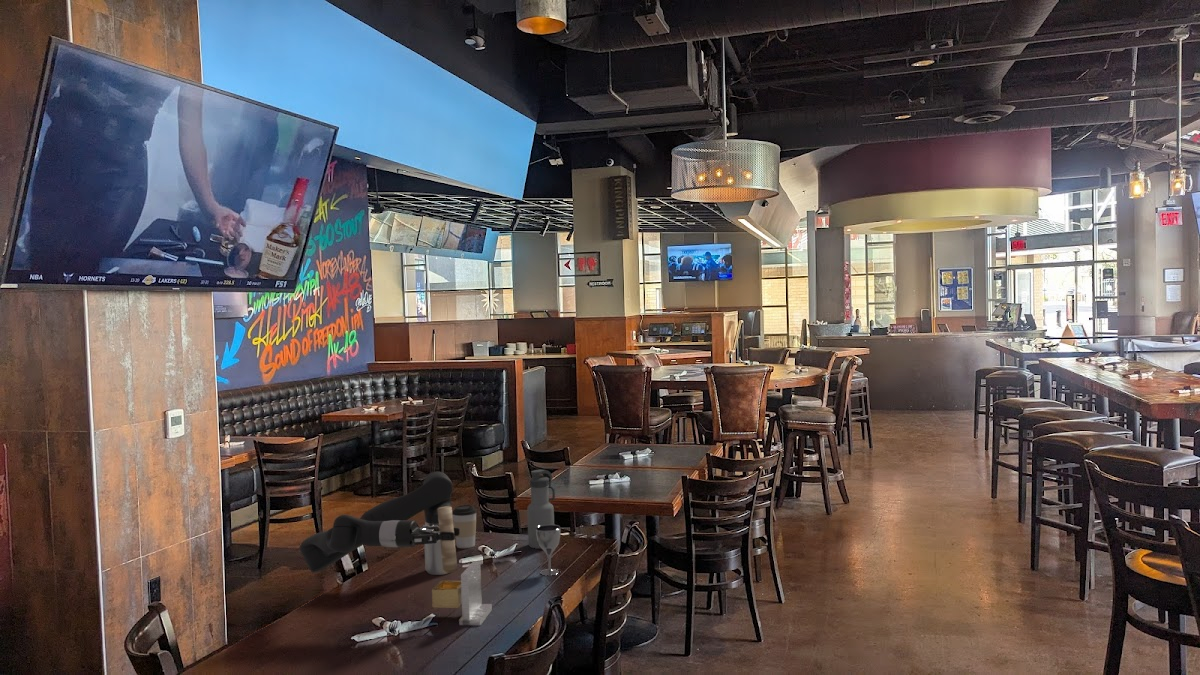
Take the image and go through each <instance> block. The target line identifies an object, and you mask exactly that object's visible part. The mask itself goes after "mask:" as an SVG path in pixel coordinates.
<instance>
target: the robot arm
mask: <svg viewBox="0 0 1200 675" xmlns="http://www.w3.org/2000/svg"><path fill="white" fill-rule="evenodd" d="M453 491H454V484H453V482H452V480H451V479H450V477H449V476H448V475H447V474H446V473H444V472H442V471H432V472H431V473H429V474H428V475H426V477H425V478H424V479H423V483H422V485H420V486H419V487H417V488H415V490H413V491H411V492H409V493H407V494H404V495H401V496H398V497H394V498H392V499H388V500H386V501H383V502H381V503H379V504H377V505H375V506H373V507H371V508H370V509H368V510H366V511H365V512H363V514H362V515H361V517H360V518H359V517H356V516H354V515H349V514H341V515H338V516H337V517H336V518H335V519H334V520H333V524H332V527H331V528H329V529H328V530H325V531H320V532H317V533H315V534H312V535H310V536H309V537H307V538H305V539H304V540H303V541H302V542H301V543H300V544H299V551H300V553H301V556H302V557H303V559H304V561H305V563H306V565H307V567H308V569H309V571H310V572H311V573H318V572H320V571H322V570H325V569H327V568H328V567H330V566H332V565H333V564H335V563H336V562H338V561H339V560H341V559H343V558H344V557H345V556H347V555H349V554H350V553H352V552H353V551H355V550H357V549H358V548H360V547H361V546H366V547H387V548H414V547H415V546H418V545H419V546H420V545H424V546H423V547H424V564H425V565H424V568H425V571H426V572H427V574H429V575H435V576H438V575H439V576H440V575H441V576H442V575H447V574H449V573H444V572H443V565H442V554H441V543H440V541H441V540H454V539H455V540H456V536H458V535H460V529H459V528H454V532H439V521H438V510H437V509H438V508H440V507H445V506H450V507H452V495H453V494H452V493H453ZM452 508H453V507H452ZM423 511H424V523H425V524H424V525H422V526H419V523H418V522H417V520H413V519H412V520H410V519H411V518H413V517H414V516H415V515H417V514H419V513H421V512H423ZM452 515H453V510H452Z"/></svg>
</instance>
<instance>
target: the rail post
mask: <svg viewBox="0 0 1200 675" xmlns="http://www.w3.org/2000/svg"><path fill="white" fill-rule="evenodd" d="M437 510H438V521H439V532H454V523H453V520H454V519H453V515H452V511H453V507H450V506H445V507H440V508H438V509H437ZM440 543H441V554H442V565H443V572H444V573H448V574H452V573H456V572H457V571H458V563H457V561H458V560H457V548H456V538H455V539H454V540H441V541H440Z"/></svg>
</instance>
